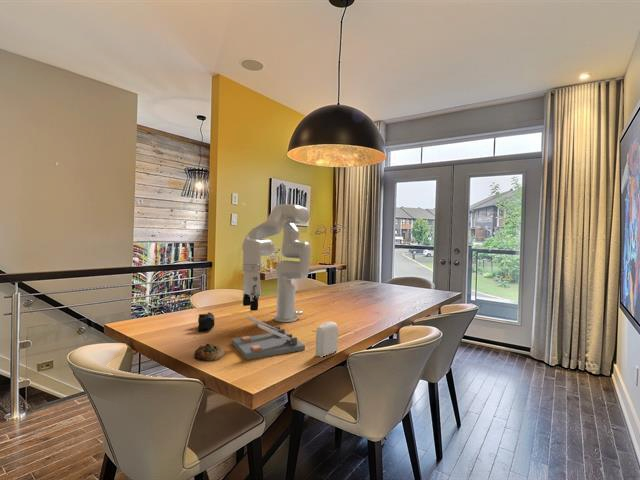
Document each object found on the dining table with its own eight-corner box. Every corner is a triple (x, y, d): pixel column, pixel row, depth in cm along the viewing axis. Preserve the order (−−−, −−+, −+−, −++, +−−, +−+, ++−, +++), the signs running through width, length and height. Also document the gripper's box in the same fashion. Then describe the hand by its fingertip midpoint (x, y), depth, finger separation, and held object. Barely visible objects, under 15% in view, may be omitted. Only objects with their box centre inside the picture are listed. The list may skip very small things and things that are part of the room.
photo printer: (322, 358, 126) (323, 326, 126) (313, 355, 129) (314, 323, 129) (338, 351, 134) (339, 321, 134) (330, 349, 137) (331, 318, 137)
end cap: (214, 331, 155) (214, 317, 155) (198, 332, 153) (198, 317, 153) (214, 325, 165) (214, 311, 164) (198, 326, 163) (199, 312, 162)
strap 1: (279, 333, 148) (280, 329, 148) (281, 335, 145) (283, 331, 146) (246, 318, 140) (248, 315, 140) (249, 320, 138) (251, 317, 138)
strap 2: (290, 341, 138) (292, 337, 138) (293, 343, 135) (295, 339, 135) (256, 326, 130) (258, 322, 130) (259, 328, 127) (261, 324, 128)
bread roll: (187, 356, 124) (189, 342, 125) (211, 352, 133) (213, 339, 134) (206, 365, 118) (208, 350, 118) (230, 360, 127) (232, 346, 127)
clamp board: (284, 335, 152) (284, 324, 152) (304, 350, 135) (305, 337, 135) (231, 343, 140) (231, 331, 140) (246, 360, 123) (247, 346, 122)
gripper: (267, 270, 138) (265, 311, 138) (253, 265, 153) (252, 303, 153) (249, 270, 134) (248, 313, 134) (236, 266, 149) (235, 304, 149)
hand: (250, 307), depth 144 cm, fingers open, 9 cm apart
